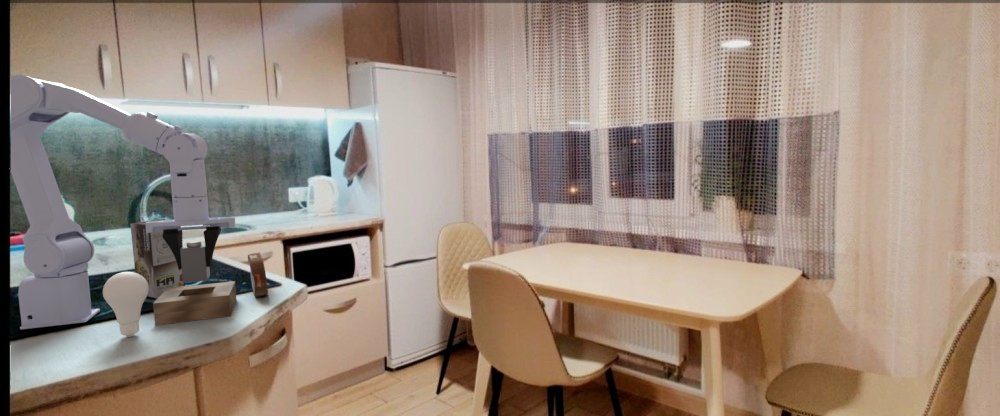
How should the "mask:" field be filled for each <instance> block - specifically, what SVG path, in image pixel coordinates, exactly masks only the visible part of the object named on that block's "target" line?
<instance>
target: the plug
mask: <svg viewBox="0 0 1000 416" xmlns="http://www.w3.org/2000/svg"><path fill="white" fill-rule="evenodd" d="M180 254H181V266H182V278H183V283H185V284H186V283H194V282H196V283H197V282H205V281H206V282H207V281H208V280H209V278H210V277H211V270H210V267H207V265H206V246H205V243H202V241H200V240H198V241H195V240H194V241H187V242H186V245H183V247H182V248H180Z"/></svg>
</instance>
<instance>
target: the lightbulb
mask: <svg viewBox="0 0 1000 416" xmlns="http://www.w3.org/2000/svg"><path fill="white" fill-rule="evenodd" d="M148 290H149V287H148V283H147V281H146V279H145V278H144V277H143V276H141V275H140V274H137V273H135V271H122V272H119V273H116V274H114V275H112V276H111V277H109V278H108V279H107V280H106V281H105V284H104V285H103V288H102V296H103V299H104V300H105V302H106V303H107V304H108V305H109V306H110V308H111V309H112V311H113V313H114V315H115V317H116V322H117V323H118V326H119V332H120V335H122V336H125V337H127V338H131V337H134V336H135V335H136V334H137V333H139V331H140V320H141V312H142V307H143V303H144V302H145V300H146V299H147V297H148V296H147V294H148Z"/></svg>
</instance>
